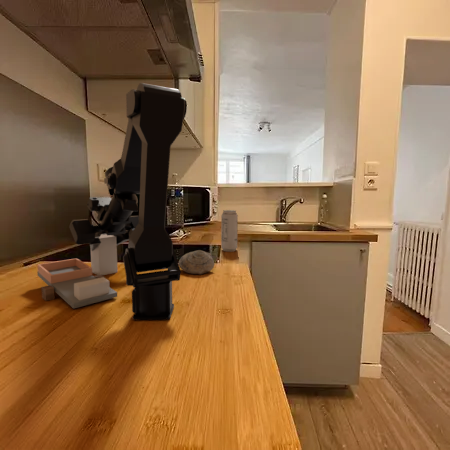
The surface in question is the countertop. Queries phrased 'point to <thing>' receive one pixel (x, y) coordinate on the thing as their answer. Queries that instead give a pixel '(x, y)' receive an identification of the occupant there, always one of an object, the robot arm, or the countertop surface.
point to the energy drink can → (229, 230)
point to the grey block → (105, 256)
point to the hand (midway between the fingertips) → (101, 247)
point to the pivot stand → (49, 291)
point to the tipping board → (75, 282)
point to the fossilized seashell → (196, 262)
